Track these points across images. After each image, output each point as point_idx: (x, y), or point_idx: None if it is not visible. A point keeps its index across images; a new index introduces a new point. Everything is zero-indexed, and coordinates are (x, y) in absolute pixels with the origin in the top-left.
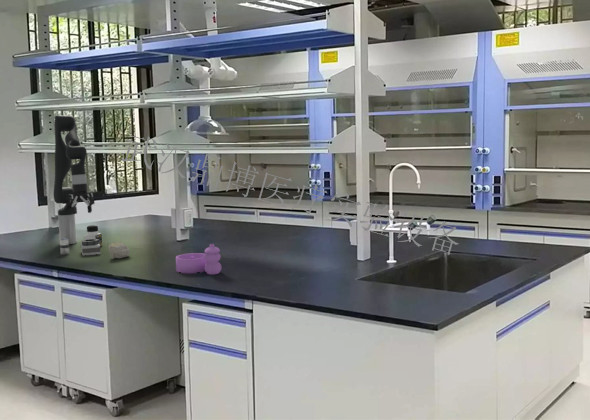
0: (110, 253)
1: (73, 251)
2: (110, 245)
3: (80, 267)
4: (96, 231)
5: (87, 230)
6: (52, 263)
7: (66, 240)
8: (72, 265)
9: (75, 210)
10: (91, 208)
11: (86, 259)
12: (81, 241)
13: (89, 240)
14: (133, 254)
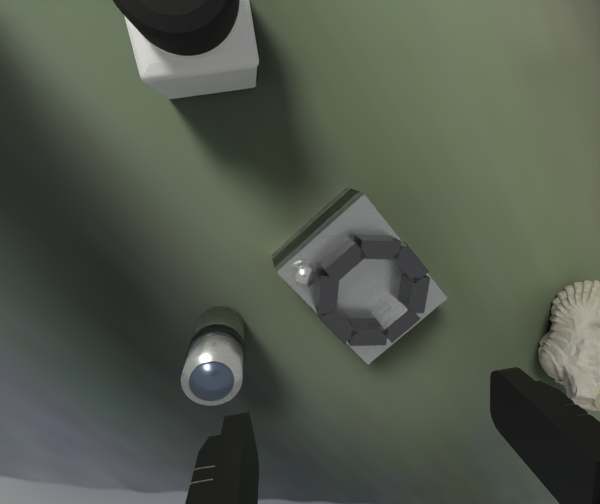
0: (555, 381)
1: (204, 247)
2: (592, 405)
3: (483, 501)
4: (239, 5)
5: (152, 41)
6: (326, 491)
7: (241, 381)
8: (434, 489)
9: (250, 488)
10: (591, 421)
11: (423, 393)
12: (324, 322)
13: (348, 267)
14: (589, 242)
